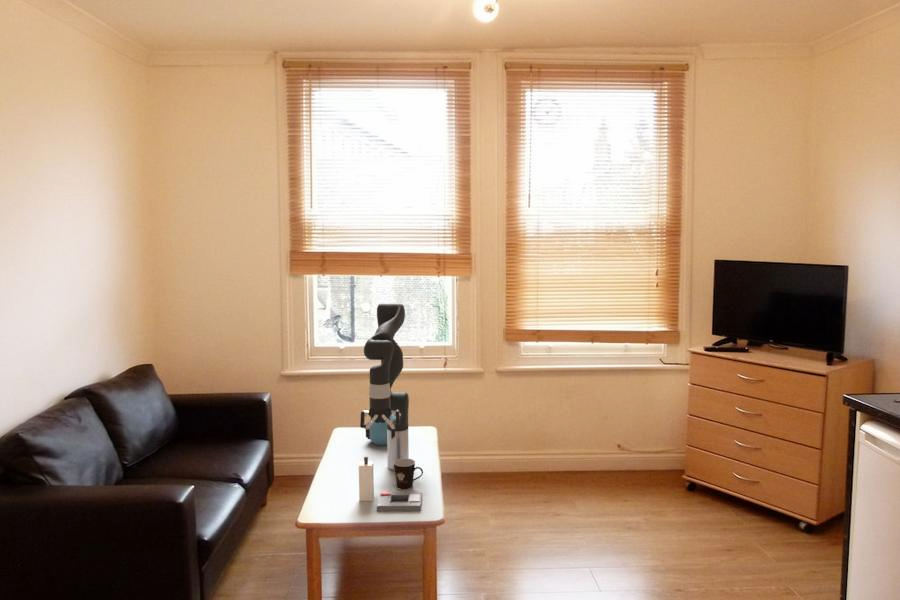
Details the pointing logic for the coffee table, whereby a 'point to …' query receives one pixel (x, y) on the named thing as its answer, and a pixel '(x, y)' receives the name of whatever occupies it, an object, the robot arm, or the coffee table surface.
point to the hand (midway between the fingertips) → (380, 438)
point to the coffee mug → (405, 473)
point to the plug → (366, 480)
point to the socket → (399, 501)
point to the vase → (379, 432)
